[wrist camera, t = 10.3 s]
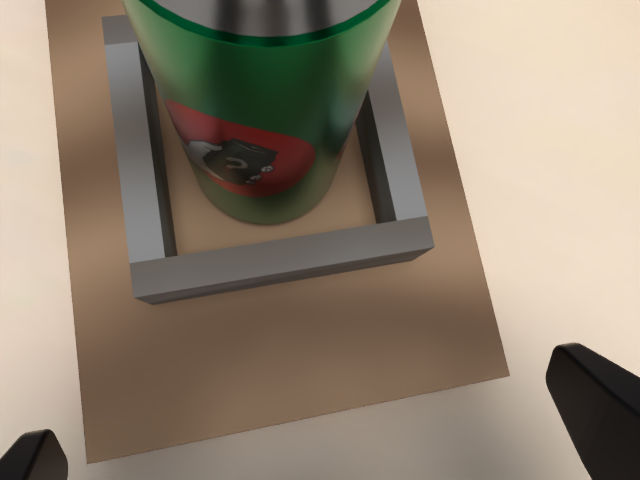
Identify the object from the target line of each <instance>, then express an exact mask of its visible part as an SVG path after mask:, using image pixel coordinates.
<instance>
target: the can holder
mask: <svg viewBox="0 0 640 480" xmlns="http://www.w3.org/2000/svg"><path fill="white" fill-rule="evenodd" d="M45 6H46V17H47V28H48V39H49V50H50V61H51V72H52V83H53V94H54V105H55V116H56V127H57V138H58V149H59V160H60V171H61V182H62V193H63V204H64V215H65V226H66V237H67V248H68V259H69V270H70V281H71V292H72V303H73V314H74V325H75V336H76V347H77V358H78V369H79V380H80V391H81V402H82V413H83V424H84V435H85V446H86V457H87V464H91V463H96V462H100V461H105V460H110V459H115V458H120V457H124V456H129V455H134V454H139V453H143V452H148V451H153V450H158V449H163V448H167V447H172V446H177V445H182V444H187V443H191V442H196V441H201V440H206V439H210V438H215V437H220V436H225V435H230V434H234V433H239V432H244V431H249V430H254V429H258V428H263V427H268V426H273V425H277V424H282V423H287V422H292V421H297V420H301V419H306V418H311V417H316V416H321V415H325V414H330V413H335V412H340V411H344V410H349V409H354V408H359V407H364V406H368V405H373V404H378V403H383V402H388V401H392V400H397V399H402V398H407V397H411V396H416V395H421V394H426V393H431V392H435V391H440V390H445V389H450V388H455V387H459V386H464V385H469V384H474V383H478V382H483V381H488V380H493V379H498V378H502V377H507V376H510V374H509V370H508V366H507V362H506V358H505V354H504V350H503V346H502V342H501V338H500V334H499V330H498V326H497V322H496V318H495V314H494V310H493V306H492V302H491V298H490V294H489V290H488V286H487V282H486V278H485V274H484V270H483V266H482V262H481V258H480V254H479V250H478V245H477V241H476V237H475V233H474V229H473V225H472V221H471V217H470V213H469V209H468V205H467V201H466V197H465V193H464V189H463V185H462V181H461V177H460V173H459V169H458V165H457V161H456V157H455V153H454V149H453V145H452V141H451V137H450V133H449V129H448V125H447V121H446V117H445V112H444V108H443V104H442V100H441V96H440V92H439V88H438V84H437V80H436V76H435V72H434V68H433V64H432V60H431V56H430V52H429V48H428V44H427V40H426V36H425V32H424V28H423V24H422V20H421V16H420V12H419V8H418V4H417V0H402V1H401V3H400V6H399V9H398V11H397V14H396V16H395V19H394V22H393V24H392V27H391V30H390V32H389V35H388V37H387V40H386V43H385V45H384V48H383V51H382V53H381V56H380V58H379V61H378V64H377V66H376V69H375V72H374V74H373V77H372V80H371V82H370V85H369V87H368V90H367V93H366V95H365V98H364V101H363V103H362V106H361V108H360V111H359V114H358V116H357V119H356V122H355V124H354V127H353V129H352V132H351V135H350V137H349V140H348V143H347V145H346V148H345V150H344V153H343V156H342V158H341V161H340V164H339V166H338V169H337V171H336V174H335V177H334V179H333V182H332V184H331V186H330V188H329V190H328V191H327V193H326V194H325V195H324V197H323V198H322V199H321V200H320V202H319V203H317V204H316V205H315V206H314V207H313V208H312V209H310V210H309V211H307V212H306V213H304V214H303V215H301V216H299V217H296V218H294V219H292V220H288V221H285V222H281V223H273V224H256V223H251V222H246V221H243V220H240V219H237V218H235V217H232V216H231V215H229V214H227V213H225V212H223V211H222V210H221V209H219V208H218V207H217V206H215V205H214V204H213V203H212V202H211V201H210V200H209V199H208V197H207V196H206V195H205V194H204V192H203V191H202V189H201V188H200V186H199V184H198V182H197V179H196V177H195V175H194V173H193V170H192V168H191V166H190V163H189V161H188V158H187V156H186V154H185V151H184V149H183V147H182V144H181V142H180V140H179V137H178V135H177V133H176V130H175V128H174V125H173V123H172V121H171V118H170V116H169V114H168V111H167V109H166V107H165V104H164V102H163V99H162V97H161V95H160V92H159V90H158V88H157V85H156V83H155V81H154V78H153V76H152V73H151V71H150V69H149V66H148V64H147V62H146V59H145V57H144V55H143V52H142V50H141V47H140V45H139V43H138V40H137V38H136V36H135V33H134V31H133V29H132V26H131V24H130V22H129V19H128V17H127V14H126V12H125V10H124V7H123V5H122V3H121V0H45Z"/></svg>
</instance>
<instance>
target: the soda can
mask: <svg viewBox="0 0 640 480" xmlns="http://www.w3.org/2000/svg"><path fill="white" fill-rule="evenodd" d="M401 1H402V0H121V3H122V5H123V7H124V10H125V12H126V14H127V17H128V19H129V22H130V24H131V26H132V29H133V31H134V33H135V36H136V38H137V40H138V43H139V45H140V47H141V50H142V52H143V55H144V57H145V59H146V62H147V64H148V66H149V69H150V71H151V73H152V76H153V78H154V81H155V83H156V85H157V88H158V90H159V92H160V95H161V97H162V99H163V102H164V104H165V107H166V109H167V111H168V114H169V116H170V118H171V121H172V123H173V125H174V128H175V130H176V133H177V135H178V137H179V140H180V142H181V144H182V147H183V149H184V151H185V154H186V156H187V158H188V161H189V163H190V166H191V168H192V170H193V173H194V175H195V177H196V179H197V182H198V184H199V186H200V188H201V189H202V191H203V192H204V194H205V195H206V196H207V197H208V199H209V200H210V201H211V202H212V203H213V204H214V205H215V206H217V207H218V208H219V209H221V210H222V211H223V212H225V213H227V214H229V215H231V216H232V217H235V218H237V219H240V220H243V221H246V222H251V223H256V224H273V223H281V222H285V221H288V220H292V219H294V218H296V217H299V216H301V215H303V214H304V213H306V212H307V211H309V210H310V209H312V208H313V207H314V206H315V205H316V204H317V203H319V202H320V200H321V199H322V198H323V197H324V195H325V194H326V193H327V191H328V190H329V188H330V186H331V184H332V182H333V179H334V177H335V174H336V171H337V169H338V166H339V164H340V161H341V158H342V156H343V153H344V150H345V148H346V145H347V143H348V140H349V137H350V135H351V132H352V129H353V127H354V124H355V122H356V119H357V116H358V114H359V111H360V108H361V106H362V103H363V101H364V98H365V95H366V93H367V90H368V87H369V85H370V82H371V80H372V77H373V74H374V72H375V69H376V66H377V64H378V61H379V58H380V56H381V53H382V51H383V48H384V45H385V43H386V40H387V37H388V35H389V32H390V30H391V27H392V24H393V22H394V19H395V16H396V14H397V11H398V9H399V6H400V3H401Z"/></svg>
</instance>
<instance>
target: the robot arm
mask: <svg viewBox="0 0 640 480" xmlns="http://www.w3.org/2000/svg"><path fill="white" fill-rule="evenodd" d="M546 384H547V387H548V390H549V392H550V394H551V396H552V398H553V400H554V403H555V405H556V407H557V409H558V411H559V413H560V416H561V418H562V420H563V422H564V424H565V427H566V429H567V431H568V433H569V435H570V437H571V440H572V442H573V444H574V446H575V448H576V450H577V452H578V454H579V456H580V458H581V460H582V462H583V464H584V466H585V468H586V470H587V471H588V473H589V475H590V477H591V478H592V480H640V377H638V376H636V375H634V374H633V373H631V372H629V371H627V370H626V369H624V368H622V367H620V366H619V365H617V364H615V363H613V362H612V361H610V360H608V359H606V358H605V357H603V356H601V355H599V354H598V353H596V352H594V351H592V350H591V349H589V348H587V347H585V346H583V345H581V344H579V343H568V344H562V345H558V346H556V347H555V348H554V350H553V352H552V356H551V359H550V362H549V366H548V369H547V372H546ZM67 477H68V462H67V458H66V456H65V454H64V452H63V450H62V448H61V446H60V444H59V442H58V440H57V438H56V436H55V434H54V433H53V431H51V430H49V429H44V430H38V431H32V432H27V433H25V434H23V435H22V436H20V437H19V438H18V439H17V441H16V442H15V443H14V444H13V445H12V446H11V447H10V448H9V450H8V451H7V452H6V453H5V454H4V455H3V456H2V458H1V459H0V480H67Z"/></svg>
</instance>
